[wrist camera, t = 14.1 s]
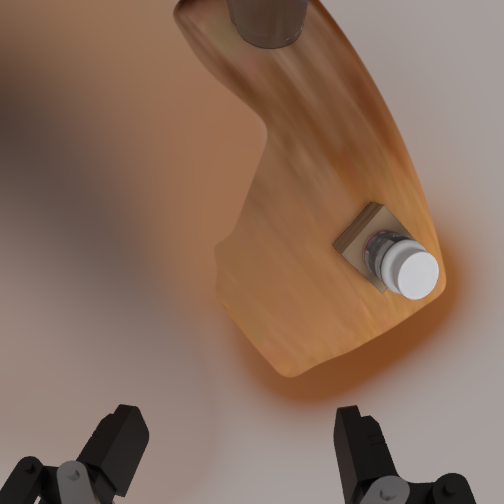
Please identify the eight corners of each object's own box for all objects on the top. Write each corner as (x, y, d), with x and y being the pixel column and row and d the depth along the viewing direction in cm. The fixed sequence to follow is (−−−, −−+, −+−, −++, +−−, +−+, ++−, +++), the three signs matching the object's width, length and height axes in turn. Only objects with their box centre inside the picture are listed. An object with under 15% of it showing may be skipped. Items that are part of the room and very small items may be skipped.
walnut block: (332, 245, 38) (341, 254, 34) (370, 201, 37) (384, 204, 32) (370, 281, 39) (382, 294, 34) (406, 240, 38) (422, 248, 33)
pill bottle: (410, 242, 33) (452, 263, 23) (388, 281, 34) (423, 313, 24) (375, 220, 32) (413, 235, 23) (353, 261, 34) (382, 290, 24)
